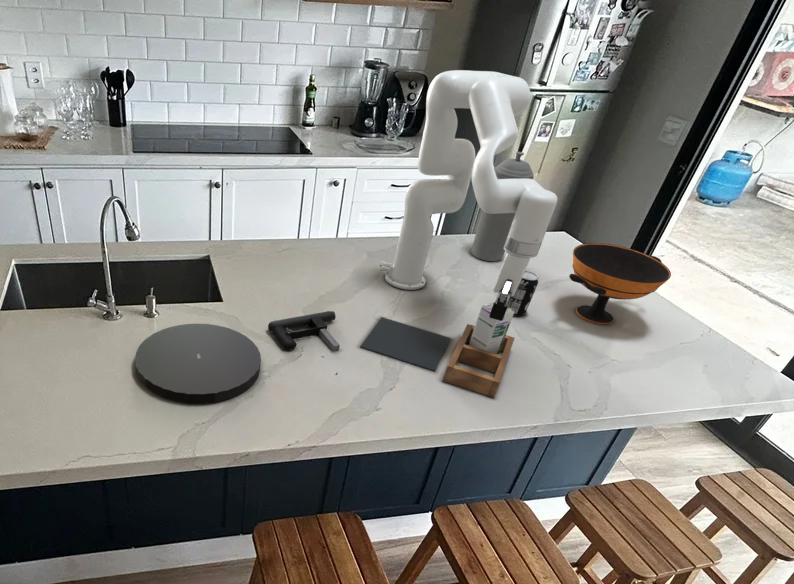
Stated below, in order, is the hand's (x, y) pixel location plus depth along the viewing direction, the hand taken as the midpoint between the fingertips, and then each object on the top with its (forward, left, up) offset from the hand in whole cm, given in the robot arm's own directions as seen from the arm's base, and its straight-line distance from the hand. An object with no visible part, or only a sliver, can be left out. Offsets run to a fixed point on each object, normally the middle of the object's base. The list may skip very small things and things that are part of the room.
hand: (499, 310), depth 143 cm
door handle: (-42, -17, -14) cm, 48 cm away
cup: (+26, +43, -14) cm, 52 cm away
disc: (-60, -44, -14) cm, 76 cm away
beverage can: (+4, +31, -14) cm, 34 cm away
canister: (-11, +68, -14) cm, 70 cm away
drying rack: (0, -5, -14) cm, 15 cm away
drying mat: (-19, -5, -14) cm, 24 cm away
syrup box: (0, 0, -14) cm, 14 cm away
